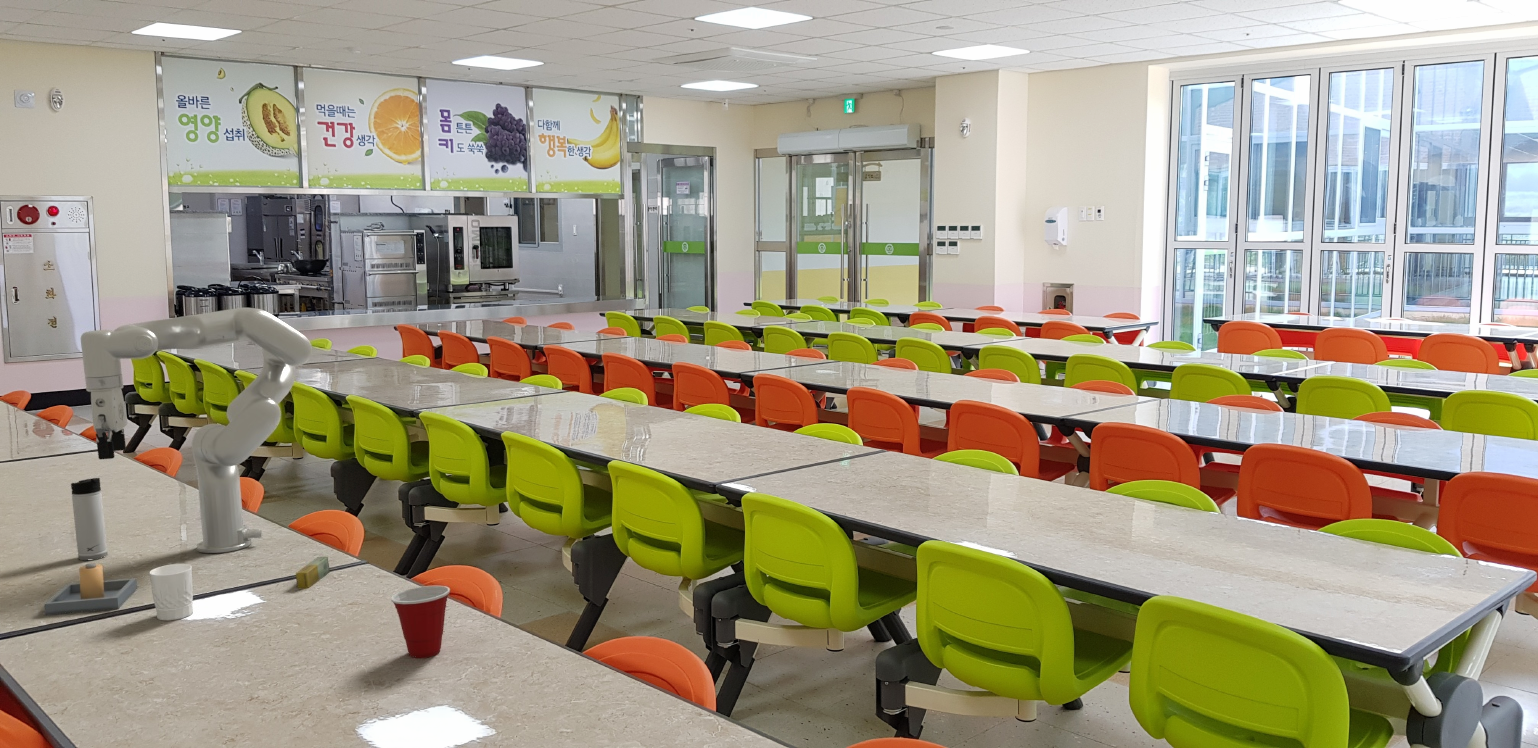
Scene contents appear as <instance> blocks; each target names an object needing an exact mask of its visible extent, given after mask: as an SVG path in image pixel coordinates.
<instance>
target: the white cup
mask: <svg viewBox="0 0 1538 748" xmlns="http://www.w3.org/2000/svg"><path fill="white" fill-rule="evenodd" d="M148 573H149V579H150V586H151V591H152V598H153V602H154V607H155V612H156V618H157V619H158V620H160V621H176V620H180V619H184V618H187V617H189V616H191V615H192V614H193V612H194V611H193V609H194V608H193V600H194V591H193V589H194V588H193V587H194V586H193V585H194V584H193V567H192V565H191V564H187V563H175V564H174V563H172V564H166V565H163V566H159V567H156V568H153V569H151V570H150V571H149V572H148Z"/></svg>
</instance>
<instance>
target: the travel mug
mask: <svg viewBox="0 0 1538 748" xmlns="http://www.w3.org/2000/svg"><path fill="white" fill-rule="evenodd" d="M70 489H71V500H72V510H73V517H74V519H73V520H74V527H75V528H74V530H75V537H76V539H75V540H76V548H77V557H78V560H79V559H80V561H83V560H88V559H96V560H99V559H98V558H101V557H104V556H106V555H107V556H108V546H107V536H106V526H105V524H106V523H105V516H104V515H105V514H104V507H103V498H102V497H103V496H102V488H101V479H100V477H93V478H87V479H82V480H78V482H72V483H70ZM104 558H105V557H104ZM101 559H102V558H101Z"/></svg>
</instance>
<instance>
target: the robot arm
mask: <svg viewBox="0 0 1538 748" xmlns="http://www.w3.org/2000/svg"><path fill="white" fill-rule="evenodd" d="M241 342H252V343H253V344H255V345H257V346H258V347H260V348H262V349H261V351H262V356H263V357H262V358H263V365H262V369H261V370H260V372H259V374H258V375H257V376H256V377H255V379H254V380H252V382H251V383H249V385H247V386H246V387H245V389H243V390H242V391H241V392H240V393H239V394H238V395H237V396H236V397H235V398H234V399H233V400H232V401H231V402H230V403H229V405H228V407H227V409H226V417H227V420H228V421H229V423H228V424H226V425H224V424H220V423H209V424H205V425H203V426H201V427H200V428H198V429H197V431H196V432H195V433H194V434H193V436H192V441H191V451H192V456H193V460H194V465H195V468H196V469H195V470H196V476H197V477H196V478H197V485H198V499H199V510H200V521H201V533H202V535H201V536H202V541H200V542H199V543H197V544H196V551H198V552H200V553H204V554H220V553H229V552H234V551H237V550H242V549H245V548H246V547H249V546H250V545H251V544H252V539H261V538H263V531H262V530H260V529H259V528H257V529H249V528H248V527H247V526H248V525H247V524H244V518H243V505H242V493H241V478H240V470H239V467H238V465H240V464H242V463H243V462H244V461H246V460H247V459H249V457H250V456H251V455H252V454H253V453H254V452H255V451H256V450H258V448H259V447H261V446H262V444H263V443H264V442H265V441H267V439H268V438H269V437H270V436H271V435H272V434H273V433H274V432H275V430H276V429H277V427H278V426H279V424H280V422H281V417H282V411H281V408H280V405H279V404H280V403H281V402H282V401H283V400H284V399H285V397H286V396H287V395H288V394H289V393H290V391H291V389H292V387H293V386H294V383H295V380H296V367H299V366H303V365H305V364H306V363H307V362H308V361H309V360H310V359H311V357H312V354H313V345H312V343H311V342H310V340H309V338H307V337H306V336H305V335H304V334H303V333H301V332H300V331H298V330H296V329H295V328H293V327H292V326H291V325H289V324H287V323H286V322H284V321H282V320H281V319H279V318H278V317H276V316H275V315H273V314H272V313H270V312H268V311H266V310H264V309H262V308H254V307H237V308H236V307H235V308H231V309H224V310H218V311H212V312H205V313H200V314H191V315H185V316H178V317H172V318H165V319H157V320H151V321H143V322H136V323H131V324H130V323H129V324H124V325H120V326H118V327H116V328H115V329H114V330H110V329H98V330H90V331H85V332H83V333H81V336H80V348H81V354H82V355H81V356H82V363H83V372H84V379H85V380H84V381H85V387H86V389H85V390H86V392H89V393H90V402H91V416H92V418H91V419H92V426H93V430H94V432H95V437H96V438H95V439H96V440H95V442H96V447H97V457H98V459H99V460H111V459H115V452H117V451H119V452H120V451H125V450H127V447H126V446H127V445H126V437H125V435H126V434H125V427H126V426H127V425H128V418H127V412H126V405H125V399H124V395H123V391H122V389H123V388H124V380H123V373H122V363H121V360H122V359H123V360H125V359H126V360H127V359H128V360H129V359H130V360H131V359H133V360H142V359H146V358H149V357H150V356H152V355H154V353H155V352H158V351H163V350H164V351H165V350H202V349H207V348H213V347H214V348H215V347H219V346H223V345H230V344H235V343H241Z"/></svg>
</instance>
